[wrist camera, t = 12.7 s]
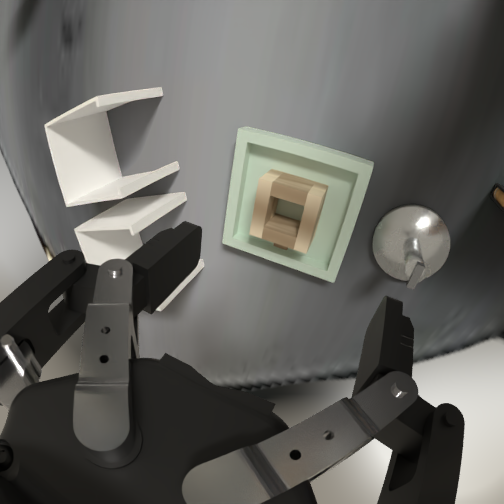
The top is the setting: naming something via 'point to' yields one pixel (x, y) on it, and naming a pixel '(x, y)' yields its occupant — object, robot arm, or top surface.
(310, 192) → the brown wooden frame
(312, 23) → the top surface
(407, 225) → the grey round stand
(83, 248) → the storage container
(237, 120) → the top surface
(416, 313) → the top surface
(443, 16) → the top surface
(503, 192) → the ammunition clip
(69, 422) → the robot arm
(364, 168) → the tray
